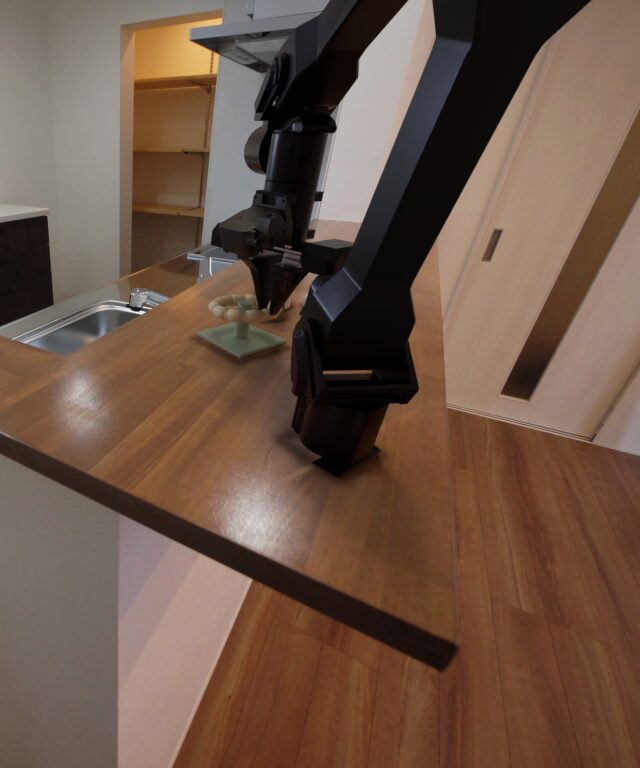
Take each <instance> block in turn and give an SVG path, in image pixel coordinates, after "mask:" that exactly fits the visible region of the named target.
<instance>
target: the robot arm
mask: <svg viewBox="0 0 640 768" xmlns="http://www.w3.org/2000/svg"><path fill="white" fill-rule="evenodd" d="M592 1H593V0H431V2H432V12H433V20H434V21H433V22H434V30H435V31H434V32H435V39H434V42H433V45H432V48H431V51H430V53H429V56H428V58H427V60H426V63H425V65H424V68H423V70H422V73H421V76H420V78H419V80H418V82H417V86H416V88H415V91H414V93H413V95H412V98H411V100H410V103H409V105H408V108H407V110H406V113H405V115H404V117H403V120H402V123H401V125H400V128H399V130H398V132H397V135H396V137H395V140H394V142H393V144H392V147H391V150H390V152H389V154H388V157H387V160H386V162H385V165H384V167H383V169H382V173H381V175H380V177H379V179H378V182H377V184H376V187H375V189H374V192H373V195H372V196H371V200H370V202H369V204H368V207H367V209H366V212H365V215H364V217H363V219H362V222H361V224H360V227H359V229H358V232H357V234H356V236H355V238H354V242H353V241H348V240H345V239H344V240H342V239H339V238H329V239H323V240H315V241H311V242H310V241H309V242H308V240H312V239H315V234H316V229H314V228H310V224H311V219H312V215H313V210H314V206H315V203H317V202H322V201H323V197H324V193H325V191H321V190H318V187H319V181H320V176H321V173H322V167H323V162H324V159H325V158H324V157H325V152H326V148H327V144H328V138H329V135H331V134H332V135H333V134H336V132H337V131H338V130H337V129H338V124H337V122H336V119H334V118H333V117H332V114H333V113H334V111H336V109H337V107H338V106H339V105H340V103H342V101H343V99H344V98H345V97H346V95H347V94H348V93H349V91H350V90H351V89H352V87H353V86H354V85H355V83H356V81H357V80H358V79H359V74H360V73H359V71H360V59H361V58H362V57H363V55H364V53H365V52H366V50H367V49H368V48H369V46H370V45H371V44H372V43H373V42H374V41H375V40H376V39H377V37H378V36H379V35H380V34H381V33H382V31H384V29H385V28H386V27H387V26H388V25H389V24H390V23H391V21H392V20H394V18H395V16H397V14H398V13H399V12H400V11H401V10H402V9H403V8H404V6H405V5H406V4H407V3H408V2H409V0H328V3H327V4H326V5H325V7H324V8H323V9H322V11H321V12H320V13H319V14H318V15H316V16H313V17H312V18H310V19H309V20H307V21H304V22H302V23H301V24H299V25H298V26H296V28H295V29H294V30H293V31H292V32H291V34H290V35H289V36H288V37H287V38H286V40H285V41H284V43H282V45H281V47H280V49H279V50H278V53H276V54H275V55H274V56H273V58H272V60H271V63H270V66H269V67H268V68H267V70H266V72H265V75H264V78H263V80H262V83H261V85H260V88H259V91H258V93H257V95H256V98H255V100H254V103H253V105H254V116H253V118H254V119H253V121H254V122H262V125H260V126H258V127H257V128H255V129H254V130H253V131H252V132H251V133H250V135H249V136H248V138H247V140H246V142H245V144H244V148H243V157H244V162H245V164H246V166H247V168H248V169H249V170H250V171H251V172H253V173H255V174H258V175H263V176H265V178H264V187H263V189H255V193H254V194H253V197H252V203H251V206H250V207H248V208H245V209H242V210H240V211H238V212H237V213H235V214H233V215H231V216H230V217H228V218H226V219H225V220H223V221H222V222H221V221H220V222H217V223H216V225H215V226H214V227H213V229H211V237H210V246H213V247H217V248H220V249H222V251H223V253H225V254H230V253H231V254H234V255H236V258H237V259H238V260H240V261H242V262H243V264H245V266H246V267H247V268H248V269H249V272H250V274H251V279H252V282H253V289H254V288H255V293H256V299H257V304H258V309H259V310H262V309H266V308H267V307H268V305H269V302H270V311H269V314H270V315H272V316H273V315H276V314H277V313H278V312H279V311H280V309H281V308H282V306H283V305H284V304H285V302H286V301H287V299H288V298H289V297H290V295H291V296H292V295H293V293H294V291H295V290H296V289H297V288H298V286H299V285H300V283H301V282H302V281H303V280H304V279H305V278H306V277H307V276H308V275H309V273H310V274H312V275H313V274H314V275H316V276H315V278H314V279H313V280H312V281H311V283H310V285H309V288H308V292H307V294H308V296H307V299H306V302H305V304H304V306H303V305H302V308H301V309H300V311H299V313H298V314H299V316H300V318H299V320H298V321H297V322H296V324H295V326H294V328H293V330H292V333H291V334H292V336H291V351H290V353H291V354H290V368H289V369H290V370H289V374H290V382H291V384H292V387H291V394H292V395H293V396H295V397H297V399H296V402H295V407H294V410H293V413H292V419H291V423H290V428H291V429H293V433H296V434H297V435H298V437H299V440H300V442H301V444H302V445H303V446H304V447H305V448H306V449H307V450H308V451H310V452H312V453H313V454H315V455H317V456H319V457H318V458H316V459H315V460H313V461H312V462H313V463H315V464H316V465H318V466H319V467H320V468H322V469H323V470H326V471H327V472H328V473H330V474H331V475H333V476H335V477H337V478H338V477H339V478H340V477H343V476H345V475H347V474H348V473H350V472H351V471H353V470H355V469H357V468H358V467H360V466H362V465H364V464H365V463H367V462H369V461H370V460H372V459H374V458H375V457H377V456H379V454H380V453H381V448H380V447H378V446H377V445H375V443H376V440H377V438H378V435H379V434H380V430H381V427H382V425H383V422H384V419H385V417H386V414H387V411H388V408H389V406H390V405H394V404H395V405H396V404H399V405H408V404H409V403H410V402H411V401H412V399H413V398H414V397H415V396H416V395H417V394H418V393H419V391H420V386H419V381H418V376H417V373H416V367H415V363H414V358H413V354H412V349H411V346H410V340H409V339H410V337H411V334H412V332H413V330H414V327H415V325H416V323H417V316H416V310H415V305H414V299H413V295H412V287H413V284H414V283H415V282H414V281H415V280H416V278H417V276H418V275H419V273H420V271H421V269H422V267H423V265H424V263H425V261H426V260H427V258H428V256H429V254H430V253H431V250H432V249H433V247H434V245H435V243H436V241H437V239H438V237H439V236H440V234H441V231H442V230H443V228H444V227H445V225H446V222H447V221H448V219H449V218H450V215H451V214H452V211H453V210H454V208H455V206H456V204H457V202H458V201H459V199H460V197H461V195H462V193H463V191H464V190H465V188H466V186H467V184H468V182H469V180H470V179H471V176H472V174H473V173H474V171H475V169H476V167H477V165H478V163H479V161H480V160H481V158H482V156H483V155H484V152H485V150H486V149H487V147H488V145H489V143H490V141H491V139H492V138H493V136H494V133H496V130H497V128H498V126H499V125H500V123H501V121H502V120H503V117H504V115H505V113H506V112H507V110H508V108H509V106H510V104H511V103H512V101H513V99H514V97H515V95H516V93H517V91H518V90H519V88H520V86H521V84H522V82H523V81H524V78H525V77H526V75H527V73H528V71H529V69H530V67H531V66H532V64H533V62H534V60H535V59H536V57H537V55H538V53H539V52H540V51H541V49H542V48H543V46H544V45H545V44H546V43H547V42H548V41H549V40H551V38H552V37H554V35H556V34H557V33H558V32H559V31H561V30H562V28H563V27H565V26H566V25H567V24H568V23H569V22H570V21H571V20H572V19H573V18H574V17H575V16H576V15H578V14H579V13H580V12H582V10H583V9H584V8H586V7H587V6H588V5H589V4H591V2H592ZM290 298H291V297H290ZM349 371H352V372H353V371H355V372H356V371H371V372H369V373H368V372H362V373H361V372H359V373H358V372H357V373H355V372H353V373H324V372H349Z"/></svg>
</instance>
